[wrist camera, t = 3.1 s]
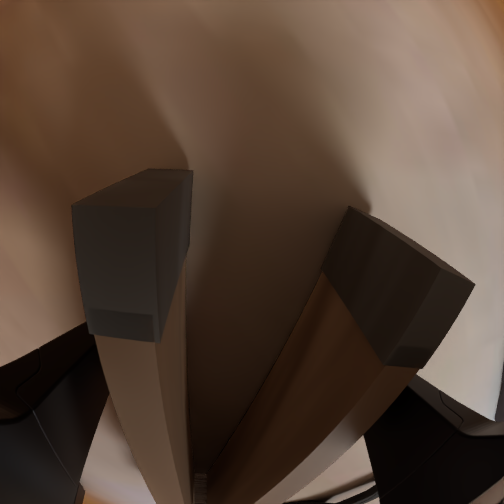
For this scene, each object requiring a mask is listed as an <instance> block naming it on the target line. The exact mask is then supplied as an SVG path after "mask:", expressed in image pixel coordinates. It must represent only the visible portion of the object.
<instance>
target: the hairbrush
mask: <svg viewBox="0 0 504 504" xmlns="http://www.w3.org/2000/svg"><path fill="white" fill-rule="evenodd" d="M378 497H379V496H378V491H377V487H376V485H374V486H373V487H371V488H370V489H368V490H366V491H364V492H362V493H360V494H357V495H355V496H353V497H350V498H348V499H346V500H343V501H341V502H338V503H323V502H303V501H298V502H289V503H297V504H364V503H367V502H369V501H371V500H374V499H376V498H378ZM283 504H288V503H283Z"/></svg>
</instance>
